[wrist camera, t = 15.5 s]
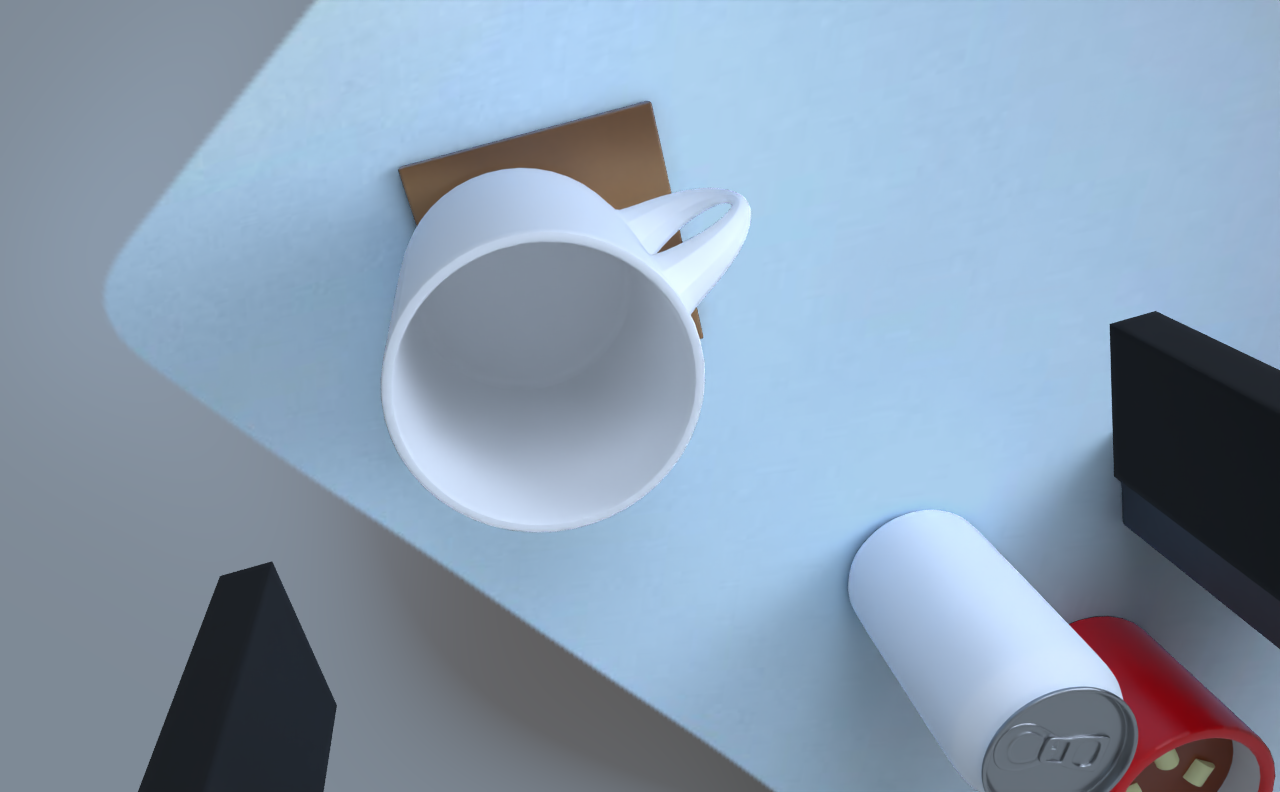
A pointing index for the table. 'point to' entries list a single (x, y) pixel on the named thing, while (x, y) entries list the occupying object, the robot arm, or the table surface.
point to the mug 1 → (550, 346)
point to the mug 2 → (1176, 719)
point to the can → (989, 661)
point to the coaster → (562, 162)
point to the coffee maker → (1203, 565)
